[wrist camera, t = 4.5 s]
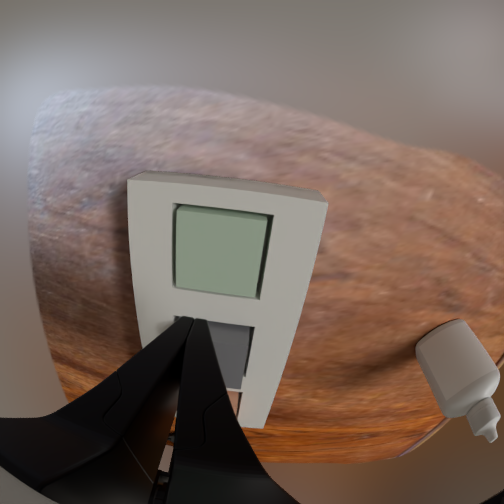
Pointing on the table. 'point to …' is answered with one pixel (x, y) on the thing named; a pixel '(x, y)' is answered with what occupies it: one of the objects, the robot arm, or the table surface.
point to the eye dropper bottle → (461, 375)
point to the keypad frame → (219, 304)
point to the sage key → (219, 249)
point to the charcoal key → (230, 350)
